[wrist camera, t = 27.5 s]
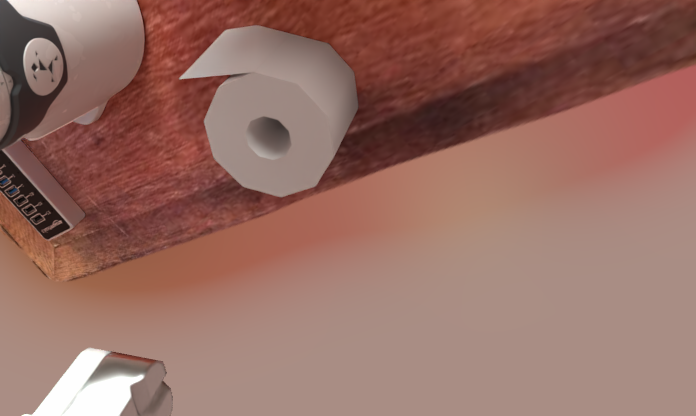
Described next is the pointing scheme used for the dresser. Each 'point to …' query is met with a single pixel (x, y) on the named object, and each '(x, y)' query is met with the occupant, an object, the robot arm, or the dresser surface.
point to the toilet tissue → (276, 107)
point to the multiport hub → (36, 193)
